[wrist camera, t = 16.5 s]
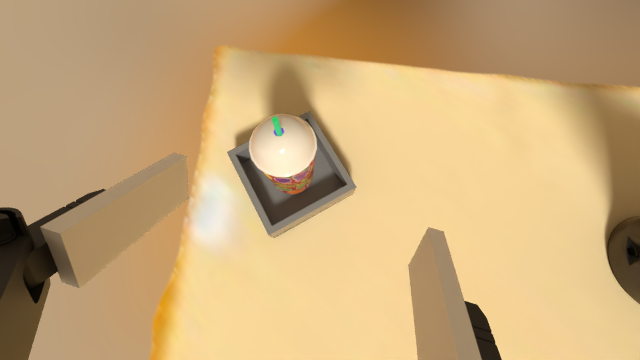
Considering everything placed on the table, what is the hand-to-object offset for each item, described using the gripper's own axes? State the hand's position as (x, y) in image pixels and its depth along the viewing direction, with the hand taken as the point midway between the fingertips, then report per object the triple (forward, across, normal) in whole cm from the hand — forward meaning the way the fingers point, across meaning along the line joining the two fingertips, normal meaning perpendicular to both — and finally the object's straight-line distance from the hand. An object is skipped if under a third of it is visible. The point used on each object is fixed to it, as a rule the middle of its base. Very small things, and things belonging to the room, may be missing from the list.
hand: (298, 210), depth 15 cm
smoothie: (+28, -7, -15) cm, 33 cm away
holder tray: (+29, -7, -15) cm, 33 cm away
